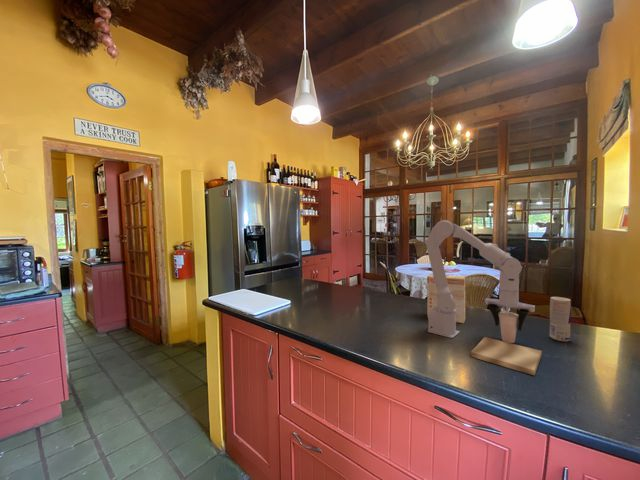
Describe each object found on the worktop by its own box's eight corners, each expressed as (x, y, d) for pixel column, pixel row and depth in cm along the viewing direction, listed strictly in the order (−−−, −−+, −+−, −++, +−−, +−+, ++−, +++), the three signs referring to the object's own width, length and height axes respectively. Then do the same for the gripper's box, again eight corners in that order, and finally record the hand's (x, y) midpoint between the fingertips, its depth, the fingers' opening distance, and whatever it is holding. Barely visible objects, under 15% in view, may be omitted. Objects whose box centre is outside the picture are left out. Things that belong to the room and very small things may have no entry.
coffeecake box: (465, 318, 120) (465, 275, 119) (464, 323, 114) (464, 278, 113) (430, 313, 128) (429, 273, 127) (427, 318, 122) (427, 275, 121)
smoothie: (493, 337, 99) (493, 300, 99) (509, 336, 100) (510, 299, 99) (506, 344, 93) (507, 305, 92) (523, 343, 94) (524, 304, 93)
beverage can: (574, 342, 94) (575, 300, 93) (555, 341, 95) (556, 300, 94) (563, 336, 99) (564, 296, 99) (545, 335, 100) (546, 296, 100)
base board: (470, 356, 85) (470, 351, 85) (484, 340, 97) (484, 336, 97) (534, 375, 74) (534, 370, 74) (541, 355, 85) (541, 350, 85)
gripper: (536, 291, 93) (535, 329, 94) (488, 285, 104) (488, 319, 104) (533, 295, 88) (532, 335, 89) (483, 288, 99) (483, 324, 99)
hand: (508, 327), depth 96 cm, fingers closed on smoothie, 6 cm apart
